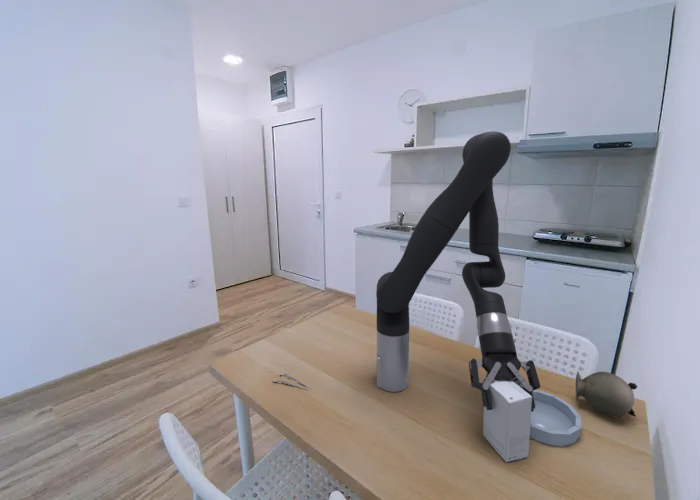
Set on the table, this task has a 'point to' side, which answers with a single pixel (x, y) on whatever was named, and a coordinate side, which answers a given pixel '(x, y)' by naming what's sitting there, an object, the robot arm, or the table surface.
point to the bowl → (554, 420)
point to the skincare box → (508, 420)
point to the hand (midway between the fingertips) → (509, 410)
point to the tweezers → (290, 383)
